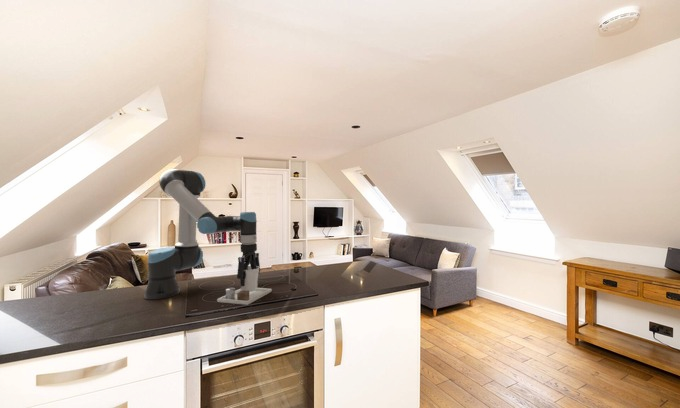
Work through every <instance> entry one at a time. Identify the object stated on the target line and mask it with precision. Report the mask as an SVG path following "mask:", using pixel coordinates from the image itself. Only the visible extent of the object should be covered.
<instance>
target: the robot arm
mask: <svg viewBox="0 0 680 408" xmlns="http://www.w3.org/2000/svg"><path fill="white" fill-rule="evenodd" d="M158 183H159V186H160V189H161V190H162V191H163V193H165V195H166V196H169V197H171V198H173V200H175V202H177V203H178V204H179V205H178V208H179V209H178V234H177V235H178V240H177V242H176V243H175V244H174V247H172V246H171V247H167V246H166V247H162V248H157V249H154V250H152V251H150V252H149V253H148V256H147V263H148V268H147V269H148V272H147V273H148V283H147V286H146V289H145V291H144V299H146V300H161V299H167V298H171V297H174V296H177V295H179V293H180V290H181V289H180V287H179V285H178V281H177V278H176V272H179V271H183V270H186V269H192V268H195V267H197V266H199V265H200V264H201V262H202V261H203V257H204V252H203V250H202V248H201V247H200V246H199V242H197V241H196V240H197V229H198V231H199V233H200V234H202V235H205V234H206V235H211V234H212V235H213V234H219V233H226V232H227V233H228V232H240V252H241V253H242V255H241V256H239V257H237V261H238V265H237V275H236V279H237V280H240V288H241V291H247V279H245V278H246V271H244V270H247V269H248V266H251V269H252V270H253V269H256V268H257V267H256V266H259V267H260V266H261V265H260V253H259V252H257V251H258V245H257V244H258V243H257V222H258V221H257V213H256V212H255V211H243V212H242V211H241V212H240V214H239V215H226V216H217V215H215V214H213V212H212V211H210V209H209V208H208V207H206V206H205V205H204V204H203V203H202V202H201V201H200V200H199V198H200V197H201V193H202V192H204V191H205V188H206V186H207V185H206V179H205V177H204V176H203V174H202V173H200V172H198V171H193V170H184V169H178V168H172V169H167V170H166V171H163V173H162V174H161V175H160V178H159V181H158ZM260 272H261V267H260V268H259V273H258V275H260ZM258 285H259V284H258V282H257V287H256V288H259V287H258Z"/></svg>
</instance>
